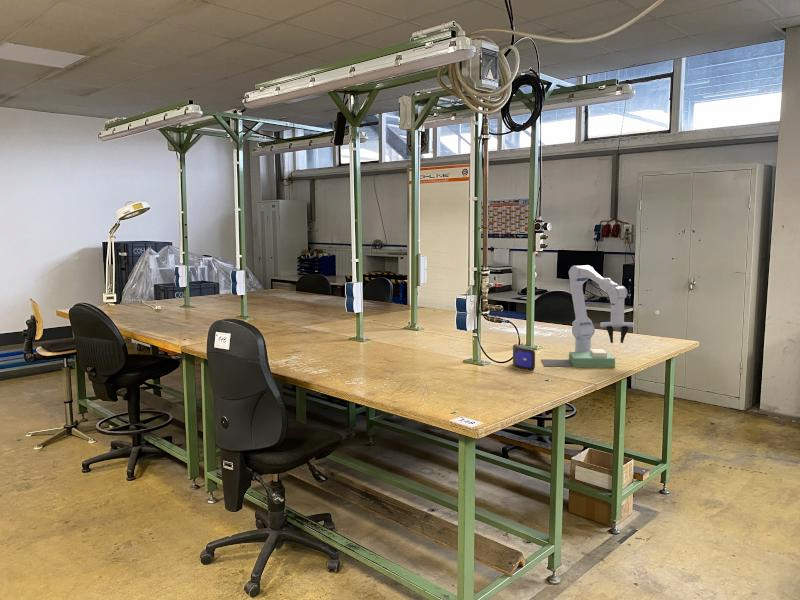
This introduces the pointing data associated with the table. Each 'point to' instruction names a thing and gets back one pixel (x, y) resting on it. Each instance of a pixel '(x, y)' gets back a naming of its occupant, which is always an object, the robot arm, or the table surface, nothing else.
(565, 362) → the mat
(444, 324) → the table surface
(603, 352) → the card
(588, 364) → the block
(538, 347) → the table surface
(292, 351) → the table surface
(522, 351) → the framed blue square panel
